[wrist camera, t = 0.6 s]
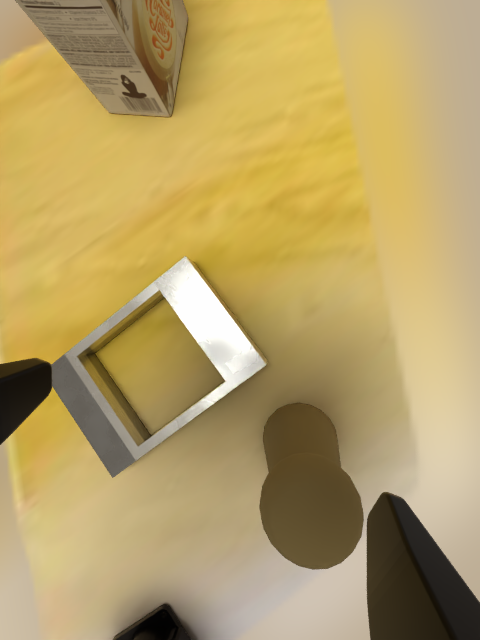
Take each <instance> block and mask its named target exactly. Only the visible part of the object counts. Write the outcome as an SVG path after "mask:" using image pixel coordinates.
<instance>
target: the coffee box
mask: <svg viewBox="0 0 480 640" xmlns="http://www.w3.org/2000/svg"><path fill="white" fill-rule="evenodd" d="M15 1H16V2H17V3H18V4H19V6H20V7H21V8H22V9H23V10H24V12H25V13H26V14H27V15H28V16H29V18H30V19H31V20H32V21H33V22H34V24H35V25H36V26H37V27H38V28H39V30H40V31H41V32H42V33H43V34H44V35H45V37H46V38H47V39H48V40H49V41H50V43H51V44H52V45H53V46H54V47H55V49H56V50H57V51H58V52H59V53H60V55H61V56H62V57H63V58H64V59H65V61H66V62H67V63H68V64H69V65H70V67H71V68H72V69H73V70H74V71H75V72H76V74H77V75H78V76H79V77H80V79H81V80H82V81H83V82H84V83H85V84H86V86H87V87H88V88H89V89H90V90H91V92H92V93H93V94H94V95H95V96H96V98H97V99H98V100H99V101H100V103H101V104H102V105H103V106H104V107H105V108H106V110H107V111H108V112H110V113H116V114H132V115H148V116H164V117H170V116H171V115H172V110H173V105H174V99H175V93H176V87H177V81H178V75H179V69H180V63H181V58H182V51H183V45H184V39H185V33H186V27H187V21H188V15H187V12H186V9H185V6H184V3H183V0H15Z"/></svg>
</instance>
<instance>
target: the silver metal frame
mask: <svg viewBox="0 0 480 640" xmlns="http://www.w3.org/2000/svg"><path fill="white" fill-rule="evenodd" d="M163 298H166V300H167V301H168V302H169V304H170V305H171V307H172V308H173V309H174V311H175V312H176V313H177V315H178V316H179V318H180V319H181V320H182V322H183V323H184V324H185V326H186V327H187V329H188V330H189V331H190V333H191V334H192V336H193V337H194V338H195V340H196V341H197V342H198V344H199V345H200V347H201V348H202V349H203V351H204V352H205V353H206V355H207V356H208V358H209V359H210V360H211V362H212V363H213V364H214V366H215V367H216V369H217V370H218V371H219V373H220V374H221V375H222V377H223V378H224V380H225V381H224V382H223V383H221V384H220V385H219V386H217V387H216V388H215V389H213V390H212V391H211V392H209V393H208V394H207V395H205V396H204V397H203V398H201V399H200V400H199V401H197V402H196V403H194V404H193V405H192V406H190V407H189V408H188V409H186V410H185V411H184V412H182V413H181V414H180V415H178V416H177V417H176V418H174V419H173V420H172V421H170V422H169V423H168V424H166V425H165V426H163V427H162V428H161V429H159V430H158V431H157V432H155V433H154V434H153V435H151V436H150V434H149V433H148V431H147V430H146V428H145V427H144V425H143V424H142V422H141V421H140V419H139V418H138V417H137V415H136V414H135V412H134V411H133V409H132V408H131V406H130V405H129V403H128V402H127V400H126V399H125V397H124V396H123V395H122V393H121V392H120V390H119V389H118V387H117V386H116V384H115V383H114V381H113V380H112V378H111V377H110V376H109V374H108V373H107V371H106V370H105V368H104V367H103V365H102V364H101V362H100V361H99V359H98V358H97V356H96V355H95V354H94V353H96V352H97V351H98V350H99V349H101V348H102V347H103V346H104V345H106V344H107V343H108V342H109V341H111V340H112V339H113V338H114V337H116V336H117V335H118V334H120V333H121V332H122V331H123V330H125V329H126V328H127V327H128V326H130V325H131V324H132V323H133V322H135V321H136V320H137V319H138V318H140V317H141V316H142V315H143V314H145V313H146V312H147V311H148V310H150V309H151V308H152V307H153V306H155V305H156V304H157V303H158V302H160V301H161V300H162V299H163ZM267 362H268V361H267V359H266V358H265V357H264V355H263V354H262V353H261V351H260V350H259V349H258V347H257V346H256V344H255V343H254V342H253V340H252V339H251V338H250V336H249V335H248V334H247V332H246V331H245V330H244V328H243V327H242V326H241V324H240V323H239V322H238V320H237V319H236V318H235V316H234V315H233V314H232V312H231V311H230V310H229V308H228V307H227V306H226V304H225V303H224V302H223V300H222V299H221V298H220V296H219V295H218V294H217V292H216V291H215V290H214V288H213V287H212V286H211V284H210V283H209V282H208V280H207V279H206V278H205V276H204V275H203V274H202V272H201V271H200V270H199V268H198V267H197V266H196V264H195V263H194V262H193V261H191V260H190V259H189V258H187V257H186V256H185V257H184V258H183V259H181V260H180V261H179V262H178V263H176V264H175V265H174V266H173V267H172V268H170V269H169V270H168V271H167V272H165V273H164V274H163V275H162V276H160V277H159V278H158V279H157V280H155V281H154V282H153V283H152V284H151V285H149V286H148V287H147V288H146V289H144V290H143V291H142V292H141V293H139V294H138V295H137V296H136V297H134V298H133V299H132V300H131V301H130V302H128V303H127V304H126V305H125V306H123V307H122V308H121V309H120V310H118V311H117V312H116V313H115V314H114V315H112V316H111V317H110V318H109V319H107V320H106V321H105V322H104V323H102V324H101V325H100V326H99V327H97V328H96V329H95V330H94V331H93V332H91V333H90V334H89V335H88V336H86V337H85V338H84V339H83V340H81V341H80V342H79V343H78V344H76V345H75V346H74V347H73V348H72V349H70V350H69V351H68V352H67V353H65V354H64V355H63V356H62V357H60V358H59V359H58V360H57V361H55V362H54V363H53V364H52V365H51V366H52V386H53V388H54V390H55V391H56V393H57V394H58V396H59V397H60V399H61V400H62V402H63V403H64V405H65V406H66V408H67V409H68V411H69V412H70V414H71V415H72V417H73V418H74V420H75V421H76V423H77V424H78V426H79V427H80V429H81V431H82V432H83V434H84V435H85V437H86V438H87V440H88V441H89V443H90V444H91V446H92V447H93V449H94V450H95V452H96V453H97V455H98V456H99V458H100V459H101V461H102V462H103V464H104V465H105V467H106V468H107V470H108V471H109V473H110V475H111V476H112V478H113V477H115V476H116V475H117V474H119V473H120V472H121V471H123V470H124V469H126V468H127V467H128V466H130V465H131V464H132V463H134V462H135V461H136V460H138V459H139V458H140V457H142V456H143V455H145V454H146V453H147V452H149V451H150V450H151V449H153V448H154V447H155V446H157V445H158V444H160V443H161V442H162V441H164V440H165V439H166V438H168V437H169V436H170V435H172V434H173V433H174V432H176V431H177V430H179V429H180V428H181V427H183V426H184V425H185V424H187V423H188V422H189V421H191V420H192V419H194V418H195V417H196V416H198V415H199V414H200V413H202V412H203V411H204V410H206V409H207V408H208V407H210V406H211V405H213V404H214V403H215V402H217V401H218V400H219V399H221V398H222V397H223V396H225V395H226V394H227V393H229V392H230V391H232V390H233V389H234V388H236V387H237V386H238V385H240V384H241V383H242V382H244V381H245V380H247V379H248V378H249V377H251V376H252V375H253V374H255V373H256V372H257V371H259V370H260V369H261V368H263V367H264V366H266V365H267Z"/></svg>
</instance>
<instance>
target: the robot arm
mask: <svg viewBox="0 0 480 640" xmlns="http://www.w3.org/2000/svg"><path fill="white" fill-rule="evenodd" d="M51 389H52V366H51V364H50V363H49V362H46V361H44V360H41V359H38V358H32V359H26V360H21V361H15V362H10V363H4V364H0V445H1V444H2V443H3V442H4V441H5V440H6V439H7V438H8V437H9V436H10V435H11V434H12V433H13V432H14V431H15V430H16V429H17V428H18V427H19V426H20V425H21V424H22V422H23V421H24V420H25V419H26V418H27V417H28V416H29V415H30V414H31V413H32V412H33V411H34V410H35V409H36V408H37V407H38V406H39V405H40V404H41V403H42V402H43V401H44V399H45V398H46V397H47V396H48V395H49V393H50V392H51ZM367 604H368V617H369V628H370V638H371V640H480V602H479V601H478V600H477V598H476V597H475V595H474V594H473V593H472V591H471V590H470V589H469V587H468V586H467V585H466V583H465V582H464V580H463V579H462V578H461V576H460V575H459V574H458V572H457V571H456V569H455V568H454V567H453V565H452V564H451V563H450V561H449V560H448V559H447V557H446V556H445V555H444V553H443V552H442V551H441V549H440V548H439V546H438V545H437V544H436V542H435V541H434V539H433V538H432V537H431V536H430V534H429V533H428V531H427V530H426V529H425V528H424V526H423V525H422V523H421V522H420V520H419V519H418V518H417V516H416V515H415V514H414V512H413V511H412V510H411V508H410V507H409V505H408V504H407V503H406V501H405V500H404V499H403V498H401V497H399V496H396V495H394V494H391V493H388V492H384V493H382V494H381V495H380V497H379V498H378V500H377V502H376V503H375V505H374V506H373V508H372V510H371V511H370V513H369V515H368V519H367ZM164 612H165V613H166V614H165V613H164ZM113 640H191V639H190V638H189V636H188V635H187V633H186V632H185V630H184V629H183V627H182V625H181V624H180V622H179V621H178V619H177V618H176V616H175V615H174V613H173V612H172V610H171V608H170V607H169V606H167V605H162V606H161V607H159V608H158V609H156V610H155V611H153V612H152V613H150V614H149V615H147V616H146V617H144V618H143V619H141V620H140V621H138V622H137V623H135V624H134V625H132V626H131V627H129V628H128V629H126V630H125V631H123V632H122V633H120V634H119V635H117V636H115V637H114V638H113Z"/></svg>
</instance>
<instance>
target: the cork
mask: <svg viewBox="0 0 480 640" xmlns="http://www.w3.org/2000/svg"><path fill="white" fill-rule="evenodd" d="M263 442H264V448H265V454H266V459H267V465H268V471H269V474H268V476H267V478H266V480H265V482H264V484H263V486H262V492H261V499H260V506H259V507H260V513H261V519H262V524H263V527H264V530H265V532H266V534H267V536H268V538H269V540H270V542H271V544H272V545H273V546H274V547H275V548H276V549H277V550H278V551H279V552H280V553H281V554H282V555H283V556H284V557H285V558H286V559H288V560H290V561H291V562H293V563H295V564H296V565H298V566H301V567H305V568H309V569H328V568H330V567H333V566H335V565H337V564H340V563H341V562H343V561H344V560H345V559H346V558H347V557H348V556H349V555H350V554H351V553H352V552H353V551H354V549H355V547H356V545H357V543H358V542H359V540H360V538H361V535H362V528H363V521H364V519H363V509H362V504H361V498H360V496H359V493H358V491H357V489H356V488H355V486H354V484H353V482H352V480H351V478H350V476H349V475H348V474H347V473H346V472H345V471H344V470H343V469H341V464H340V456H339V448H338V441H337V435H336V430H335V428H334V426H333V424H332V422H331V420H330V419H329V418H328V417H327V416H326V415H325V414H324V413H323V412H322V411H321V410H319V409H317V408H315V407H313V406H312V405H308V404H302V403H295V404H288V405H285V406H283V407H281V408H279V409H277V410H276V411H275V412H274V413H273V414H272V415H271V416H270V417H269V419H268V421H267V423H266V425H265V427H264V434H263Z"/></svg>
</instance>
